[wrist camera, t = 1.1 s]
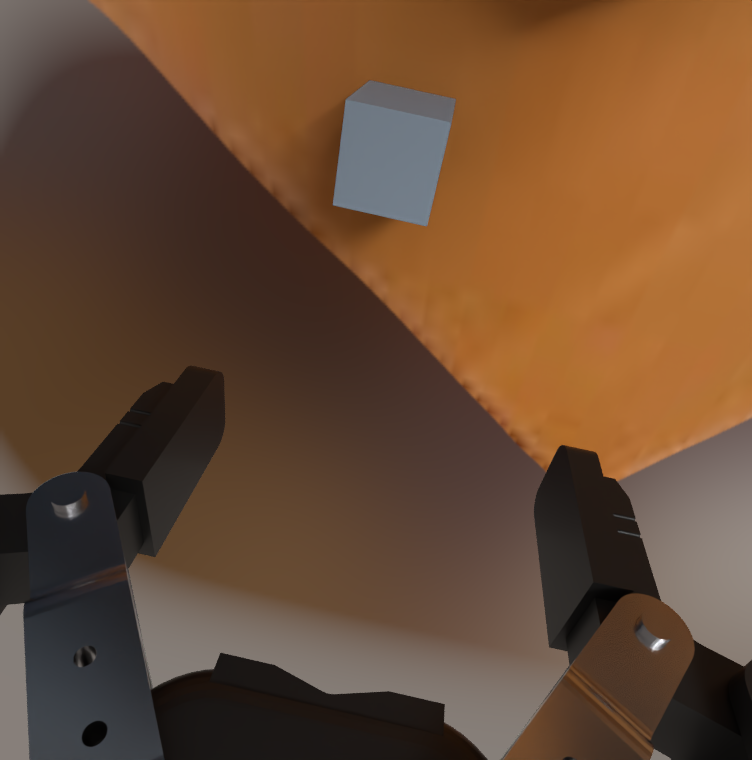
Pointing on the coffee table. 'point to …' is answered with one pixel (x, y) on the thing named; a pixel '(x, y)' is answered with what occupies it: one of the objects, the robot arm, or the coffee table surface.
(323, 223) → the coffee table surface
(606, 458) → the coffee table surface
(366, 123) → the block
